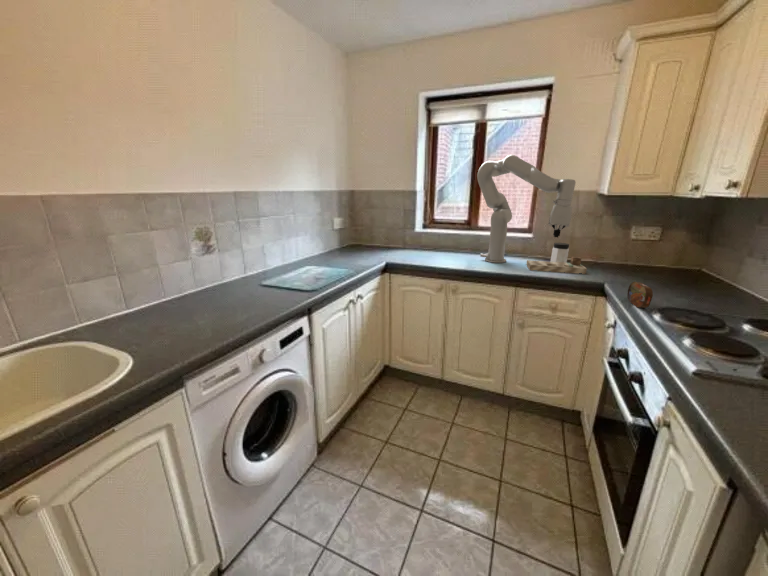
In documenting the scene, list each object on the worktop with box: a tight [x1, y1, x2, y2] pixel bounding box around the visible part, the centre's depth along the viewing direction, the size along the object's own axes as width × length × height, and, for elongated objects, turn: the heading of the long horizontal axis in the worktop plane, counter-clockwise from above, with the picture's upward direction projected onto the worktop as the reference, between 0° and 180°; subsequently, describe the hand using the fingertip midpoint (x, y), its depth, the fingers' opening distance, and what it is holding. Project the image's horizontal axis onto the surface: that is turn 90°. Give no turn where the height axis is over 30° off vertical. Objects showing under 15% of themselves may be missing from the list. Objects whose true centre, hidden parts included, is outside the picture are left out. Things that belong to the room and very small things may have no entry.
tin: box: [626, 281, 654, 309], centre depth 128 cm, size 15×3×8 cm, turn 163°
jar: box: [549, 242, 570, 263], centre depth 199 cm, size 9×8×12 cm
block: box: [569, 256, 582, 265], centre depth 184 cm, size 4×4×4 cm
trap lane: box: [525, 260, 588, 275], centre depth 185 cm, size 28×13×3 cm, turn 75°
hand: (555, 236), depth 183 cm, fingers closed
